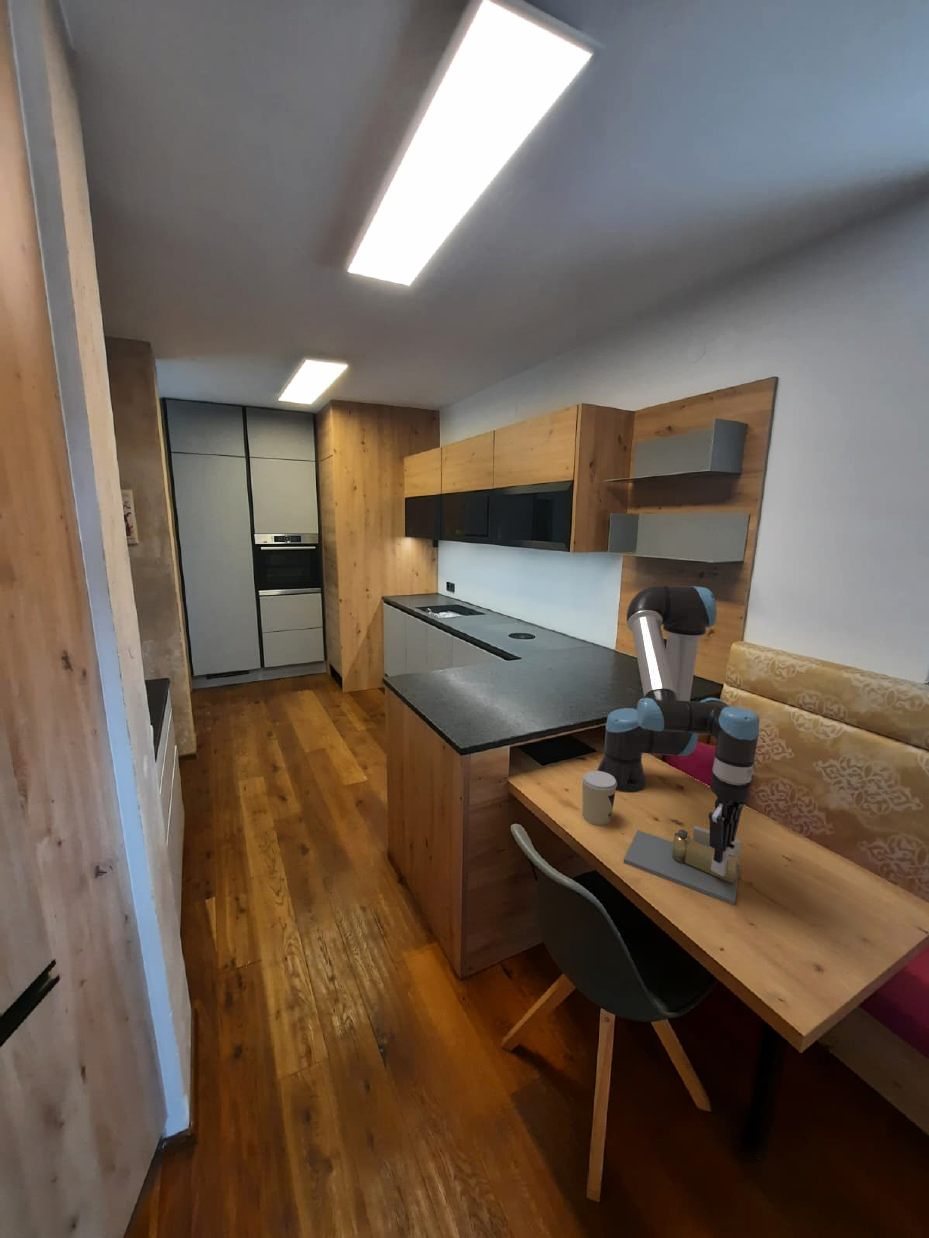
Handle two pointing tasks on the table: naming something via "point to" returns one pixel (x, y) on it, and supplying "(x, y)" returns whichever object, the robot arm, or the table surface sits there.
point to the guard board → (680, 863)
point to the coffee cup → (598, 797)
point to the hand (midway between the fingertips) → (718, 871)
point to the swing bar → (701, 857)
